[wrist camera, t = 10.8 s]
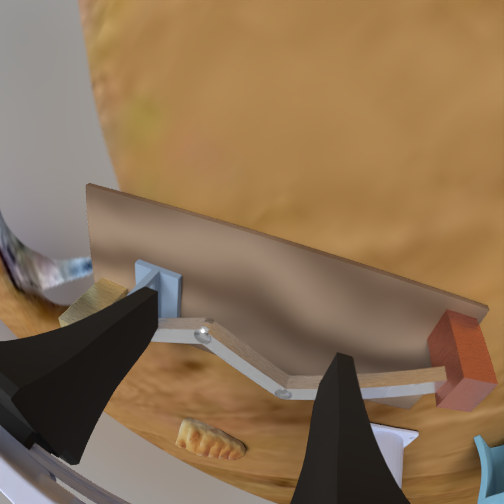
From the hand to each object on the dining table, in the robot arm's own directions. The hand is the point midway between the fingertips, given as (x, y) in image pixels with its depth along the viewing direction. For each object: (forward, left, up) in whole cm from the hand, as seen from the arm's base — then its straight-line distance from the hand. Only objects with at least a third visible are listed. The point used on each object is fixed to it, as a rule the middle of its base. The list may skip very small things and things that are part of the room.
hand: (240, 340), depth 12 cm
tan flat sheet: (-8, 0, -10) cm, 13 cm away
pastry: (-33, +3, -11) cm, 34 cm away
